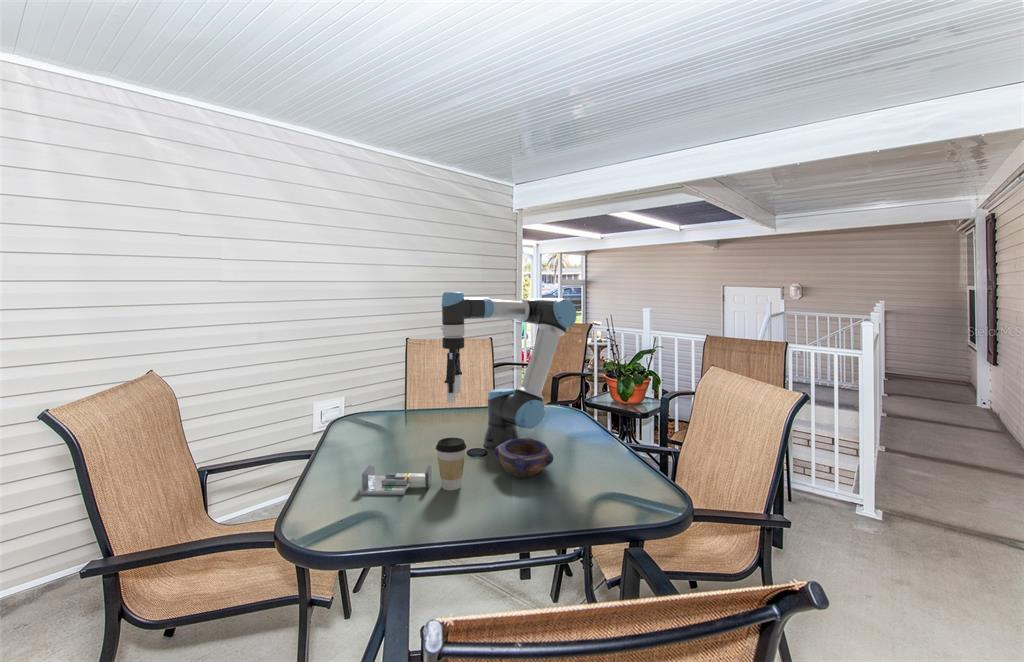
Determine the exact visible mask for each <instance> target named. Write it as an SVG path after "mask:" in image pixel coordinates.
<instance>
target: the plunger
mask: <svg viewBox="0 0 1024 662" xmlns="http://www.w3.org/2000/svg"><path fill="white" fill-rule="evenodd" d="M432 471H433V470H432V465H428V466H427V467H426V471H425V472H424V473H423V472H420V473H418V472H416V473H415V472H413V473H412V472H411V473H409V472H405V473H404V472H403V473H401V472H398V473H395V474H396V476H395V479H404V481H406V480H407V484H410V485H411V484H412V485H413V484H414V485H415V484H416V485H417V484H421V485H424V484H425V489H429V488H430V486H431V483H432V478H433V477H432V476H433V475H432Z"/></svg>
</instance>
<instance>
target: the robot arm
mask: <svg viewBox="0 0 1024 662" xmlns="http://www.w3.org/2000/svg"><path fill="white" fill-rule="evenodd" d="M441 297H442V298H441V320H442V321H441V322H442V327H440V330H442V336H443V337H442V348H443V349H445V350H448V352H447V354H446V374H445V375H446V376H445V377H446V378H445V380H444V384H446V403H456V394H461V376H462V375H463V371H462V369H461V358H460V356H461V353H460V351H461V349H465V337H464V336H465V320H474V319H483V320H484V319H500V320H501V319H502V320H503V319H505V320H517V321H518V322H520V323H529V324H535V325H537V328H538V329H539V332H538V334H537V337H536V341H535V344H534V346H533V350H532V352H531V356H530V357H529V362H528V364H527V367H526V370H525V373H524V376H523V377H522V378H523V379H522V381H521V385H520V386H518V387H516V388H510V387H509V388H497V389H492V390H490V391H489V392H488V394H487V395H488V396H487V420H488V421H487V422H488V423H487V428H486V432H485V434H484V437H483V444H484V446H485V447H486V448H489V449H492V450H495V448H496V447H497V446H499V445H501V444H502V443H504V442H506V441H508V440H512V439H520V438H521V437H520V435H519V431H518V428H521V429H527V430H533V429H535V428H536V427H538V426H540V424H541V423H542V422H543V420H544V418H545V415H546V409H545V405H544V403H543V401H544V396H543V394H542V393H543V389H544V386H545V383H546V380H547V377H548V374H549V372H550V368H551V365H552V363H553V359H554V357H555V356H554V355H555V353H556V350H557V347H558V344H559V341H560V338H561V337H564V336H565V335H566V332H567V329H569V328H571V327H572V326H573V327H574V325H575V323H576V321H577V316H578V314H577V309H576V307H575V304H574V303H573V302H572V301H571V300H570V299H567V298H563V297H538V298H529V299H527V298H525V299H524V298H521V299H518V300H507V299H504V300H503V299H492V298H490V297H484V296H482V297H474V296H473V297H472V296H471V297H469V296H468V297H467V296H466V297H465V293H464V292H463V291H445V292H443V293H442V296H441Z"/></svg>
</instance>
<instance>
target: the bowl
mask: <svg viewBox="0 0 1024 662" xmlns="http://www.w3.org/2000/svg"><path fill="white" fill-rule="evenodd" d="M494 454H495V456H496V458H497V459H498V461H500V465H501V466H502V467H503V468H504V470H505V471H506V472H507V473H509V474H510V475H512V476H513V477H518V478H524V477H525V478H526V477H532V476H535V475H537V474H538V473H541V471H542V470H544V469H545V468H547V467H548V466H549V465H551V464H552V463H554V462H553V461H554V455H553V453H552V452H551V451H550V449H549V447H548V446H547V444H546V443H544V442H542V441H540V440H538V439H534V438H530V437H528V438H526V437H523V438H522V437H520V439H512V440H508V441H506V442H504V443H502V444H501V445H499V446H497V447H496V448H495V449H494Z"/></svg>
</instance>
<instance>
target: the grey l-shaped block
mask: <svg viewBox="0 0 1024 662" xmlns="http://www.w3.org/2000/svg"><path fill="white" fill-rule="evenodd" d="M375 467H376V466H375V465H368V466H367V467H366V468H365V469H364V471H363V472H362V473H361V484H362V485H361V488H360V489H359V496H362V495H363V496H365V495H371V496H372V495H373V496H374V495H378V496H380V495H382V496H383V495H385V496H386V495H388V496H389V495H394V496H395V495H398V496H399V495H406V493H407V491H408V489H409V487H410V485H411V484H407V480H406V481H404V479H395V476H396V474H397V473H385V475H376V469H375Z"/></svg>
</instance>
